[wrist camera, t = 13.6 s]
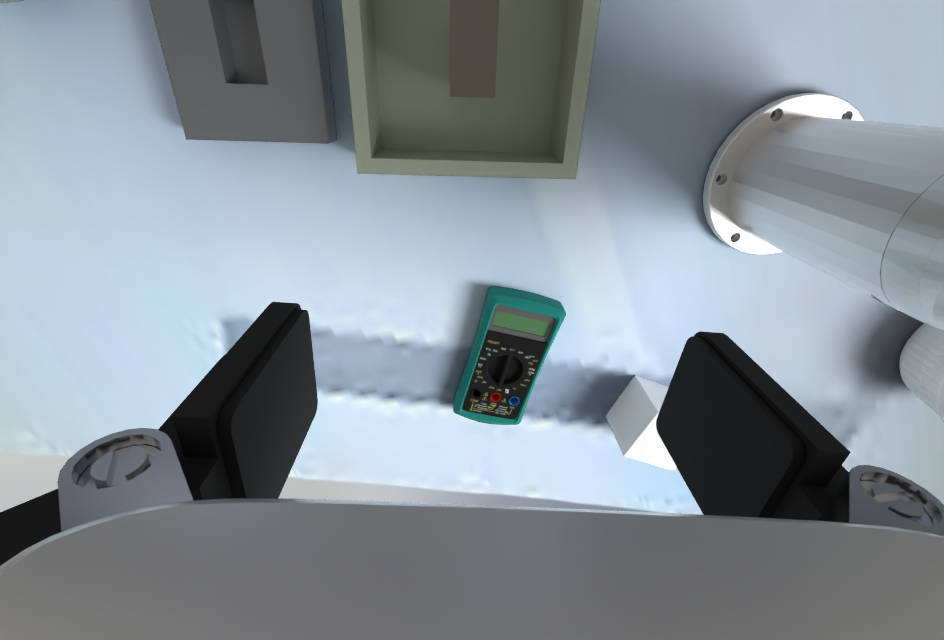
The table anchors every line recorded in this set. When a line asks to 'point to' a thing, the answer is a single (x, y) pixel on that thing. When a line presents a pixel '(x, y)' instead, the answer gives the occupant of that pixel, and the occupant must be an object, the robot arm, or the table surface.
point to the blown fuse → (473, 47)
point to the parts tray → (468, 118)
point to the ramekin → (925, 366)
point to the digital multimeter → (507, 355)
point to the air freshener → (8, 0)
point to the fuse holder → (248, 69)
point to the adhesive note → (640, 422)
